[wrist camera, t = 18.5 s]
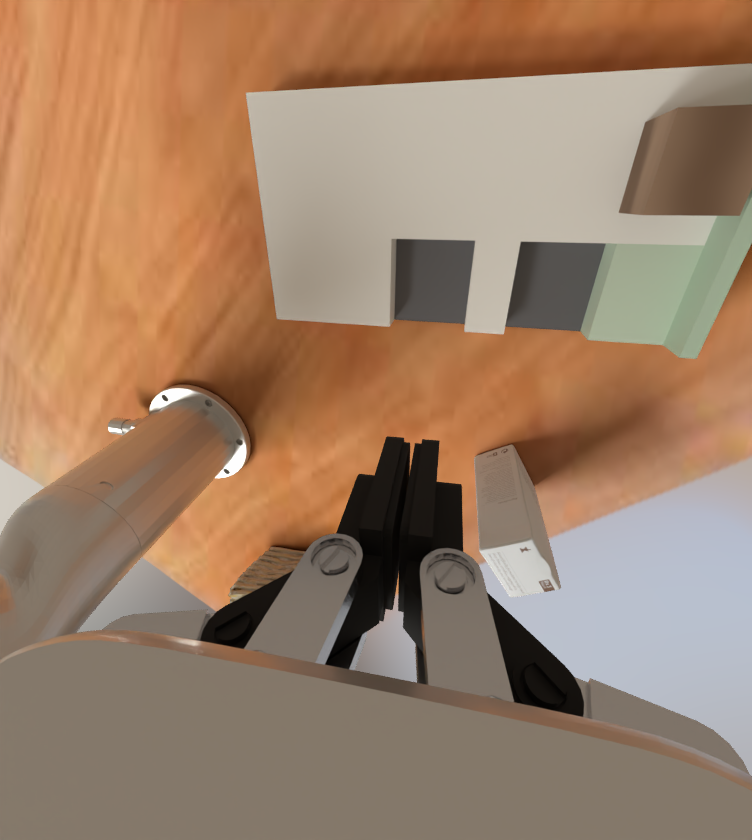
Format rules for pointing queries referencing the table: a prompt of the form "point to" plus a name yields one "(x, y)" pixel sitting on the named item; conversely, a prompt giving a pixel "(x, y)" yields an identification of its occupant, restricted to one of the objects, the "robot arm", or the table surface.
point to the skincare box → (512, 524)
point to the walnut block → (692, 163)
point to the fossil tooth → (265, 570)
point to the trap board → (491, 206)
